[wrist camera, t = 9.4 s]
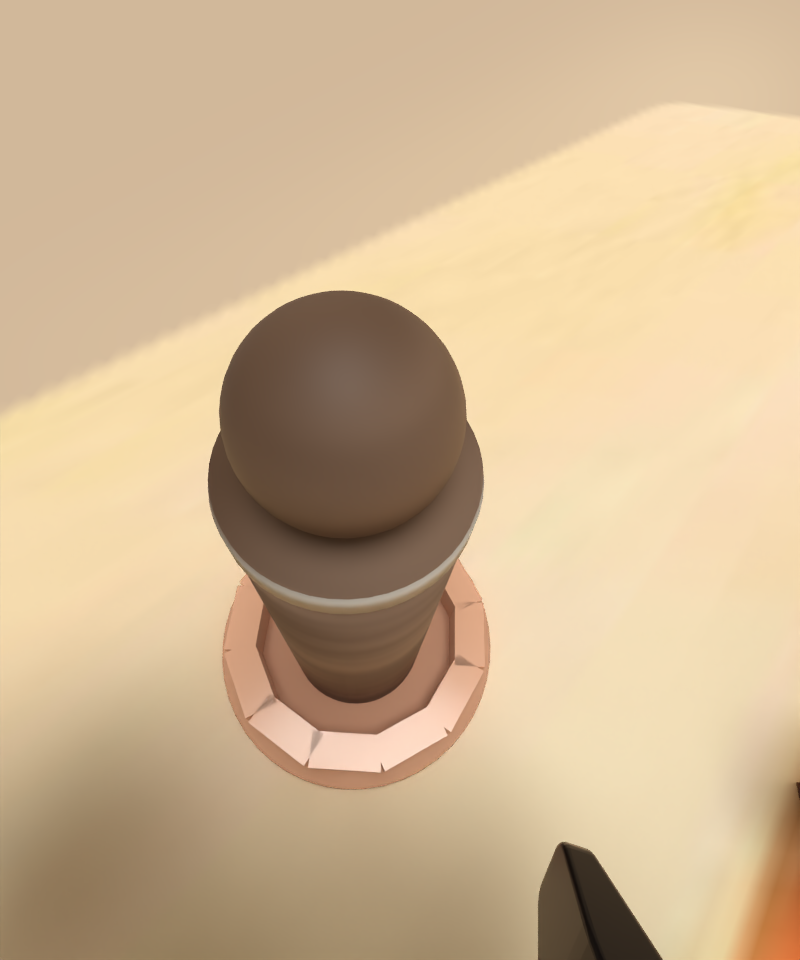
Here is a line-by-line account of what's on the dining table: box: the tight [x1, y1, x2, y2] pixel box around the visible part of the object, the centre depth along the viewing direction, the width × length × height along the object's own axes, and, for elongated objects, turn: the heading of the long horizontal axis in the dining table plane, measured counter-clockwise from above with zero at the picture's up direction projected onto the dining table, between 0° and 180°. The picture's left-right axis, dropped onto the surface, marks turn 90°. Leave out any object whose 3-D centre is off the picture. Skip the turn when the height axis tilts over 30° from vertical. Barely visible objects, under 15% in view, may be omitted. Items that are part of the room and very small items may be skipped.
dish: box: [223, 559, 490, 789], centre depth 18 cm, size 10×10×2 cm
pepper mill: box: [208, 291, 484, 704], centre depth 12 cm, size 4×4×15 cm
